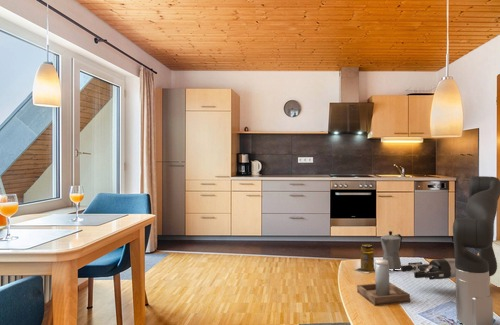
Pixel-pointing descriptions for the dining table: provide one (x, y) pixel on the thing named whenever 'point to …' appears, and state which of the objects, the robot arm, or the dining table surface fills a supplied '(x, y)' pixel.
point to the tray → (394, 297)
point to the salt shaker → (382, 277)
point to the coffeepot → (392, 249)
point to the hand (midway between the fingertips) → (408, 271)
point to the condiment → (366, 259)
